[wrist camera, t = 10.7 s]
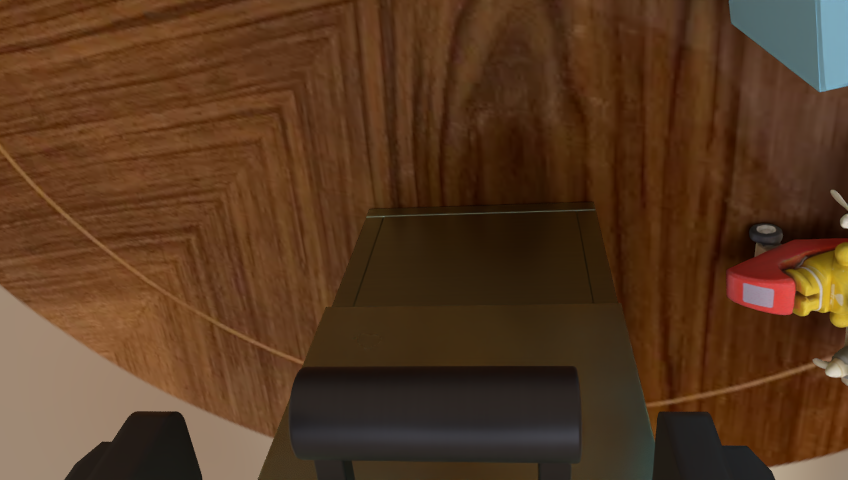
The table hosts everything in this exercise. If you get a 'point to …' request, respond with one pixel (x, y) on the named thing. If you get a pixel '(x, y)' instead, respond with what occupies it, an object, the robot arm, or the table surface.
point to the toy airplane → (797, 280)
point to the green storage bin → (479, 257)
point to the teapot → (800, 36)
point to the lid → (466, 396)
